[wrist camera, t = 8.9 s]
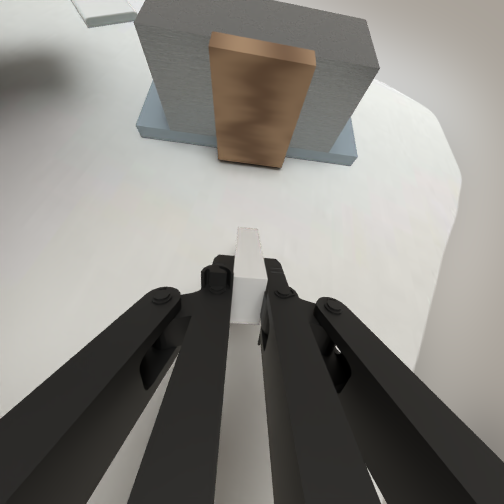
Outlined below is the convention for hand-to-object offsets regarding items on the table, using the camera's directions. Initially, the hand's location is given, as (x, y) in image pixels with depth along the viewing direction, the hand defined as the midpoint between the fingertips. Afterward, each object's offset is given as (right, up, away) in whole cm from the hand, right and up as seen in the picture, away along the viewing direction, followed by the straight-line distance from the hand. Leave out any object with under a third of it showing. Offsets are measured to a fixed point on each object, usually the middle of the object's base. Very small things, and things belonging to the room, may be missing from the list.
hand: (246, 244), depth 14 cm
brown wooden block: (+1, +16, +11) cm, 19 cm away
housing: (+1, +17, +11) cm, 20 cm away
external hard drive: (-26, +42, +18) cm, 52 cm away
